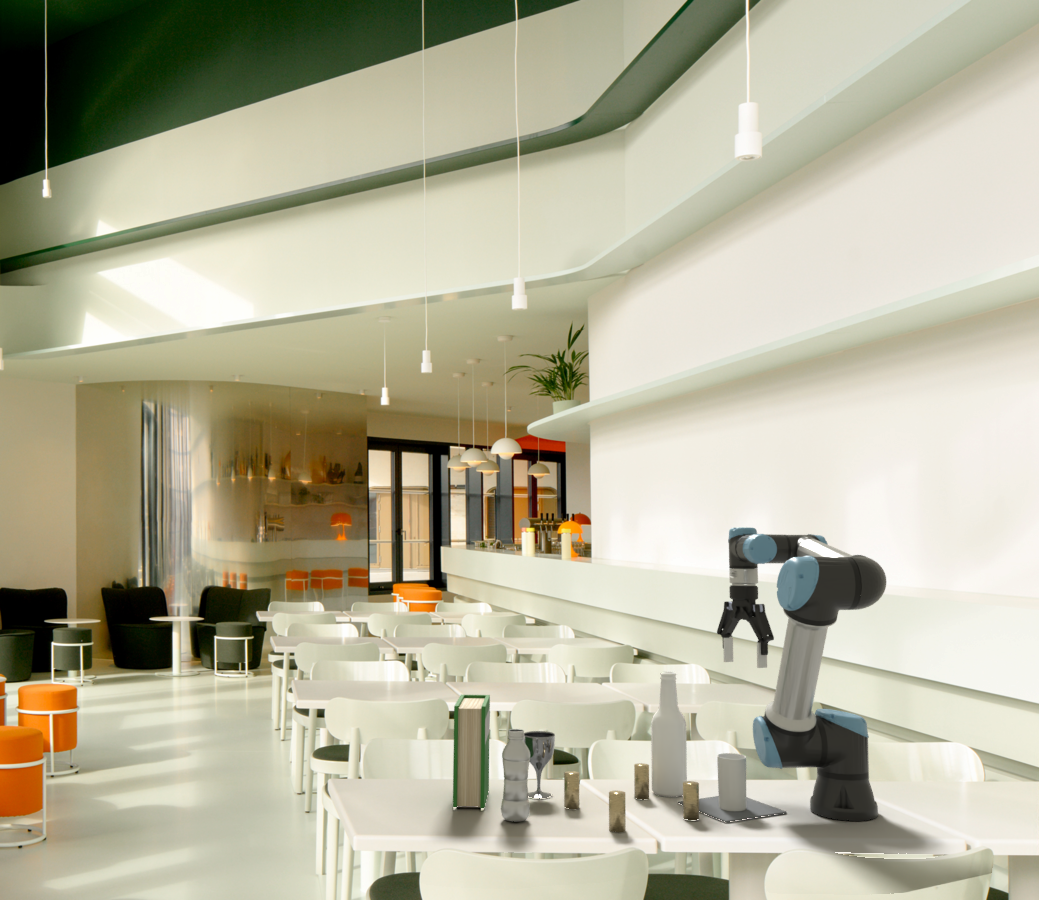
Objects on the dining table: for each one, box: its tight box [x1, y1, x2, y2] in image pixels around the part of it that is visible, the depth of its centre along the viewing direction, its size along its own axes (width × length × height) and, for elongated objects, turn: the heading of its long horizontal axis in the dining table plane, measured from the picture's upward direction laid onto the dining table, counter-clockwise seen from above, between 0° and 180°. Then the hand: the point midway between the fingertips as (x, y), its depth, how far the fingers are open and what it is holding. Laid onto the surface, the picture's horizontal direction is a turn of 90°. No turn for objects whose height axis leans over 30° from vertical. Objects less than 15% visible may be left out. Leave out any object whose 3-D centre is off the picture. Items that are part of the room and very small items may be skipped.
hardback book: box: [452, 694, 491, 808], centre depth 233 cm, size 18×7×24 cm, turn 178°
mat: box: [677, 795, 788, 822], centre depth 226 cm, size 18×18×1 cm
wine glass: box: [523, 730, 556, 799], centre depth 237 cm, size 8×8×15 cm
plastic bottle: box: [500, 728, 531, 823], centre depth 216 cm, size 6×7×20 cm
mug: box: [716, 752, 747, 812], centre depth 227 cm, size 10×7×12 cm, turn 167°
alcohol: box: [650, 671, 688, 798], centre depth 241 cm, size 9×9×30 cm
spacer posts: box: [563, 762, 700, 834], centre depth 222 cm, size 24×24×8 cm
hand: (744, 664), depth 254 cm, fingers open, 13 cm apart
